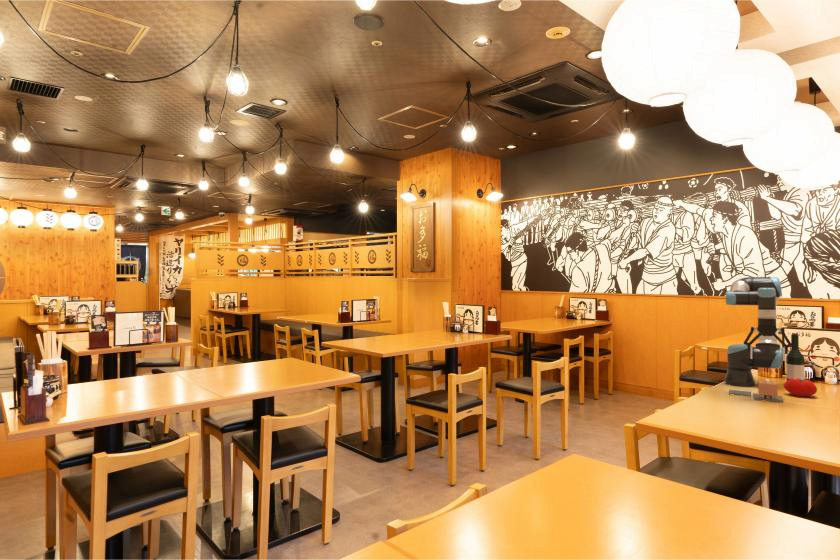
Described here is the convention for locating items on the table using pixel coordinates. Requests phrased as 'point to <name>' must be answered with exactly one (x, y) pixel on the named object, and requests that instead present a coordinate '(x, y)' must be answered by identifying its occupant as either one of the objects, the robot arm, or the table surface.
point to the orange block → (768, 388)
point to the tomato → (800, 387)
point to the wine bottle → (795, 360)
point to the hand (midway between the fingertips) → (767, 359)
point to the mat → (740, 392)
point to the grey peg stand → (768, 398)
